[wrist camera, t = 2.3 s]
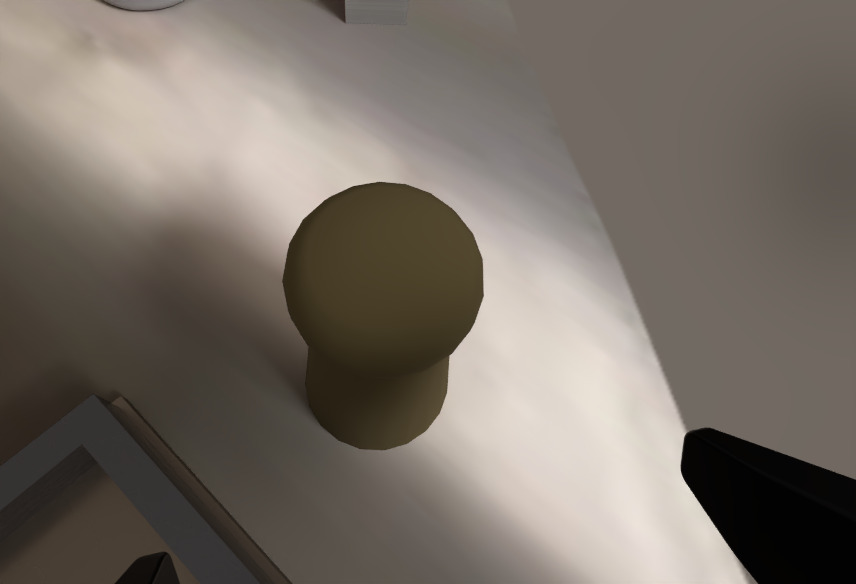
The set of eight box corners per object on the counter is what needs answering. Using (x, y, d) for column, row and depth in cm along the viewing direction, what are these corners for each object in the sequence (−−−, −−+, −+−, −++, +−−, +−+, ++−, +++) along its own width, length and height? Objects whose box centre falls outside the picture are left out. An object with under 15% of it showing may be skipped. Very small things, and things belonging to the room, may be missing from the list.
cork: (403, 479, 20) (440, 425, 10) (275, 402, 21) (195, 283, 11) (471, 353, 23) (553, 213, 13) (355, 289, 23) (347, 109, 14)
